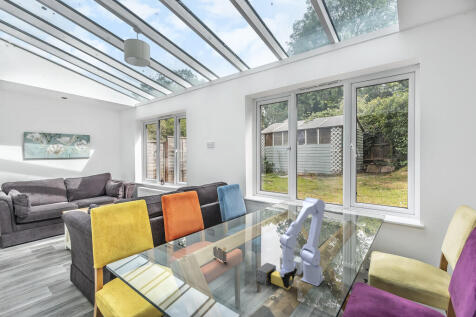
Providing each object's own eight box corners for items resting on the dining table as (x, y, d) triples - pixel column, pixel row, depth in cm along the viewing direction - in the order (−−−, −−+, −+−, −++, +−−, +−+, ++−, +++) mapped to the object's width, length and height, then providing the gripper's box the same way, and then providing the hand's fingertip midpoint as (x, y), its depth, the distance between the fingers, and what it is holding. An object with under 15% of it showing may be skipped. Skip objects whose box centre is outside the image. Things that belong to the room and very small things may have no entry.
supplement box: (285, 252, 139) (304, 257, 131) (285, 264, 139) (305, 270, 131) (279, 256, 133) (300, 262, 125) (279, 269, 133) (300, 275, 125)
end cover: (293, 285, 114) (293, 276, 114) (289, 289, 111) (288, 280, 111) (275, 279, 121) (275, 270, 121) (271, 282, 118) (270, 274, 118)
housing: (276, 277, 124) (275, 265, 124) (266, 285, 116) (266, 272, 116) (266, 273, 128) (266, 262, 128) (256, 281, 120) (256, 269, 120)
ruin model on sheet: (226, 263, 143) (226, 247, 143) (223, 264, 141) (222, 249, 141) (217, 257, 152) (216, 243, 152) (213, 258, 150) (213, 244, 150)
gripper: (287, 251, 122) (288, 276, 122) (273, 261, 111) (274, 288, 111) (299, 255, 117) (300, 280, 117) (286, 265, 106) (287, 294, 106)
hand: (288, 285), depth 114 cm, fingers closed on end cover, 5 cm apart
